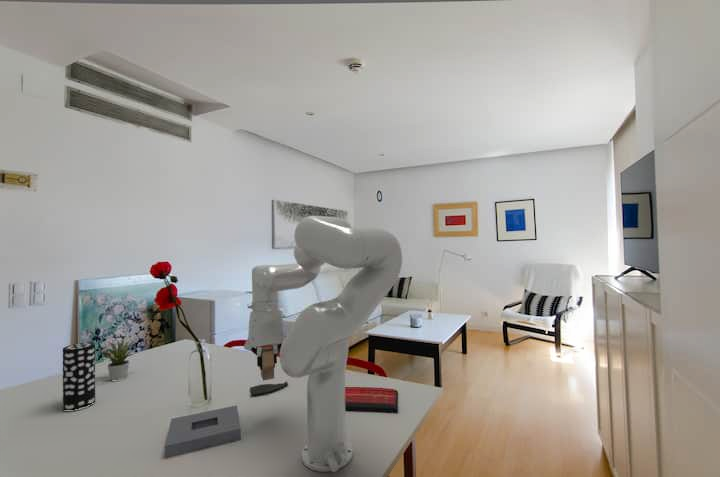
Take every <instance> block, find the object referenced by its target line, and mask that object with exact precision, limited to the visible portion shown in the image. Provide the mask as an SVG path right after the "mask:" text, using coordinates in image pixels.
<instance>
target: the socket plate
mask: <svg viewBox="0 0 720 477" xmlns="http://www.w3.org/2000/svg"><path fill="white" fill-rule="evenodd" d="M239 416H240V415H239V410H238V405H237V404H236V405H233V406H227V407H223V408H218V409H213V410H207V411H204V412H203V411H202V412H198V413H193V414H188V415H185V416H179V417H174V418H171V419H170V423H169V426H168V427H169V428H168V431H167V436H166V439H165V444H164V459H168V458H172V457H175V456H180V455H183V454H189V453H191V452H197V451H200V450H204V449H208V448H212V447H216V446H220V445H224V444H228V443H232V442H237V441H240V440H241V439H242V438H241V433H242V430H241V422H240V417H239Z"/></svg>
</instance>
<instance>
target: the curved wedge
mask: <svg viewBox="0 0 720 477" xmlns="http://www.w3.org/2000/svg"><path fill="white" fill-rule="evenodd" d="M288 386H289V383H288V381H285V382H284V383H265V384H264V383H263V384H258V385H255V386H251V387H250V388H249V392H250V395H251V398H257V397H263V396H266V395H269V394H270V395H271V394H274V393H276V392H279V391H282V390H284V389H285V388H287V387H288Z"/></svg>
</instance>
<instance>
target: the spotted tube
mask: <svg viewBox="0 0 720 477" xmlns="http://www.w3.org/2000/svg"><path fill="white" fill-rule="evenodd" d="M94 402H95V403H96V343H95V342H91V341H90V342H81V343H75V344H70V345H67V346H64V347H63V348H62V410H63V409H64V410H75V409H79V408H83V407H86V406H88V405H91V404H92V403H94ZM95 403H94V404H95Z"/></svg>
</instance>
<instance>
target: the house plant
mask: <svg viewBox="0 0 720 477" xmlns="http://www.w3.org/2000/svg"><path fill="white" fill-rule="evenodd" d="M125 339H126V337H124V338H122V339H121V342H120V341H119V340H118V339H117V347H116V345H115V344H114V343H113V342H109V341H106V342H105V343H107V344H108V345H110V346H111V348H107V347H105V346H102V345H100V347H101V348H104V349H106V350H107V351H108V352H109V353H108V352H107V351H104V350H98V352H99V353H101V354H102V355H103V356H101V357H100V359H101V358H105V359H109V360H108V361H107V363H109V362H110V363H109V364H107V370H108V375H109V379H110V381H111V380H119V379H122V378H125V377H126V376H128V371H129V366H130V365H129V364H130V361H129V360H127V358H128V357H130V356H133V355H135V354H134V353H133V352H135V351H133V350H131V351H129V352H127V351H128V350H129V349H130V348H131V347H132V346H133V345H134V342H135V341H138V340H140V339H141V338H137V339H134V340H133V341H131V342H130V339H129V340H127V341H126V342H125ZM129 342H130V343H129ZM126 378H127V377H126ZM126 378H125V379H126Z"/></svg>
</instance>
